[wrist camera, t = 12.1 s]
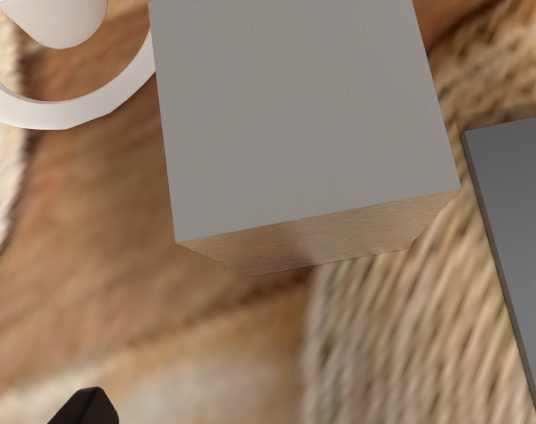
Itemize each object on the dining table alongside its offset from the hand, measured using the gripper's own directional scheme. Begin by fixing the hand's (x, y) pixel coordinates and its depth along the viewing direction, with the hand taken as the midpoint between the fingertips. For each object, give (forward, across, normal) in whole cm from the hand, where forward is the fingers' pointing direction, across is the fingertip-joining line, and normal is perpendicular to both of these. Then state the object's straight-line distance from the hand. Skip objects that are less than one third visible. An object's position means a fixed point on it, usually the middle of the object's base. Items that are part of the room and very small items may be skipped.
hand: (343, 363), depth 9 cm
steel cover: (+11, 0, +3) cm, 11 cm away
